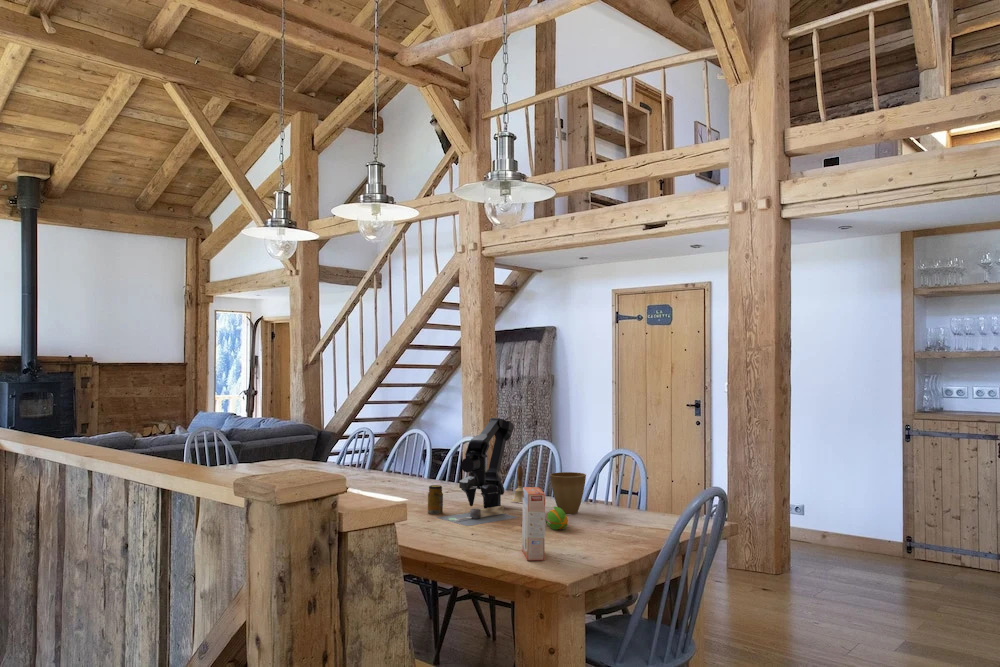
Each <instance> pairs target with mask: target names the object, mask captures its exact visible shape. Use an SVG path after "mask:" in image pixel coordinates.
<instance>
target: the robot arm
mask: <svg viewBox="0 0 1000 667" xmlns="http://www.w3.org/2000/svg"><path fill="white" fill-rule="evenodd" d="M514 428H515V426H514V424H513V422H512V421H511V420H505V419H503V418H501V417H491V418H489V421H488V423H487V424H486V425H485V426H484V428H483V429H482V431H481V432H480V433H479V434H477V435H475V436H473V437H472V438H471V439H470V441H469V442H468V445H467V448H466V450H465V451H466V452H465V454H464V457H465V458H463V459H462V461H461V463H460V468H461V469H462V471H463V472H465V473H468V476H466V477H464V478H462V479H460V480H459V486H458V487H459V489H461V491H463V492H464V494H465V495H466V498H467V501H468V504H469V506H470V507H473V505H474V502H475V497H476V493H477V490H480V491H481V492H480V494H481V496H482V498H483V499H482V500H483V501H482V502H483V509H484V508H491V507H497V506H502V505H501V504H502V503H501V501H502V499H501V497H502V495H503V496H504V494H505V486H504V485H503V483H502V476H501V474H500V471H501V466H502V461H503V459H504V458H503V456H504V452H505V449H506V444H507V441H508V440H509V439H511V437H512V434H513V431H514ZM493 437H494V438H495V439H494V443H493V447H492V451H491V456H490V461H489V465H488V469H487V470H486V468H487V467H486V463H487V462H486V460H487V459H486V458H488V455H487V452H488V450H489V448H490V441H491V440H492V438H493Z"/></svg>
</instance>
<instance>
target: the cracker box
mask: <svg viewBox="0 0 1000 667" xmlns="http://www.w3.org/2000/svg"><path fill="white" fill-rule="evenodd" d="M522 488H523V503H522V522H521V523H522V524H521V525H522V529H521V530H522V531H521V532H522V533H521V535H522V536H521V537H522V539H521V542H522V543H521V551H522V552H523V554H524V557H525V559H526V561H529V562H530V561H531V562H532V561H534V562H535V561H536V562H537V561H539V562H540V561H542V562H543V561H545V548H546V546H545V545H546V543H545V542H546V540H545V537H546V536H545V534H546V532H545V531H546V530H545V528H546V493H545V492H544V491H543V490H542V489H541V487H537V486H522Z"/></svg>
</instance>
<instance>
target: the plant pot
mask: <svg viewBox="0 0 1000 667" xmlns="http://www.w3.org/2000/svg"><path fill="white" fill-rule="evenodd" d="M549 477H550V482H551V484H550V485H551V489H552V494H553V496H554V497H553V498H554V500H555V503H556V507H559V508H561V509H562V510H563V511H564V512H565V515H566V514H571V515H576V514H575V513H577V514H578V512H579V510H580V506H581V504H582V500H583V496H584V491H585V485H586V480H587V474H586V473H583V472H577V471H576V472H571V471H567V472H565V471H564V472H563V471H561V472H552V473H550V474H549Z"/></svg>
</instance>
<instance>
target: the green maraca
mask: <svg viewBox="0 0 1000 667" xmlns="http://www.w3.org/2000/svg"><path fill="white" fill-rule="evenodd" d="M552 508H553V509H550V510H549V511H548V513H547V516H546V517H547V518H546V519H547V520H548V521H547V520H545V523H546V524H547V525H548V526H549V528H551V529H552V530H553V531H557V530H560V531H562V530H564V529H566V528H567V527H568V525H569V524H568V523H569V518H568V516H567V515H566V514H565V512H564V511H563V510H562V509H561V508H559V507H557V506H553V507H552ZM561 529H562V530H561Z"/></svg>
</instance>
